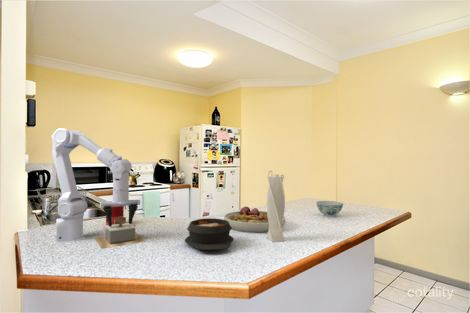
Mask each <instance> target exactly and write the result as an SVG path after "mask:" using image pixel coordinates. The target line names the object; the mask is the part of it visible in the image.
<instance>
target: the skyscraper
mask: <svg viewBox="0 0 470 313" xmlns="http://www.w3.org/2000/svg"><path fill="white" fill-rule="evenodd" d="M266 178H267V181H268V187H267V192H266V212H267V216H268V222H269V231H268V232H267V235H266V239H267V240H269V241H271V242H272V243H277V242H285V237H284V232H283V229H282V228H283V226H282V222H283V217H285V208H286V196H285V189H284V183H283V182H284V178H285V175H284V174H281V175H280V174H273V171H272V170H269V171H268V173H267V177H266ZM281 226H282V227H281Z"/></svg>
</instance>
